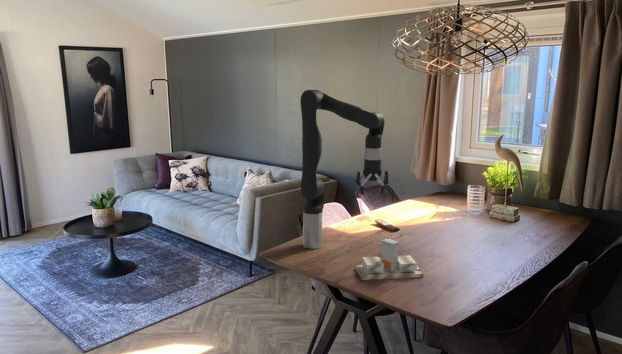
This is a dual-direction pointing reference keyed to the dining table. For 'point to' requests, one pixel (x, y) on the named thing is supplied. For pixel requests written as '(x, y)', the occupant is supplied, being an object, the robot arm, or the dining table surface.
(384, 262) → the skincare box
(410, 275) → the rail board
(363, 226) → the dining table surface
